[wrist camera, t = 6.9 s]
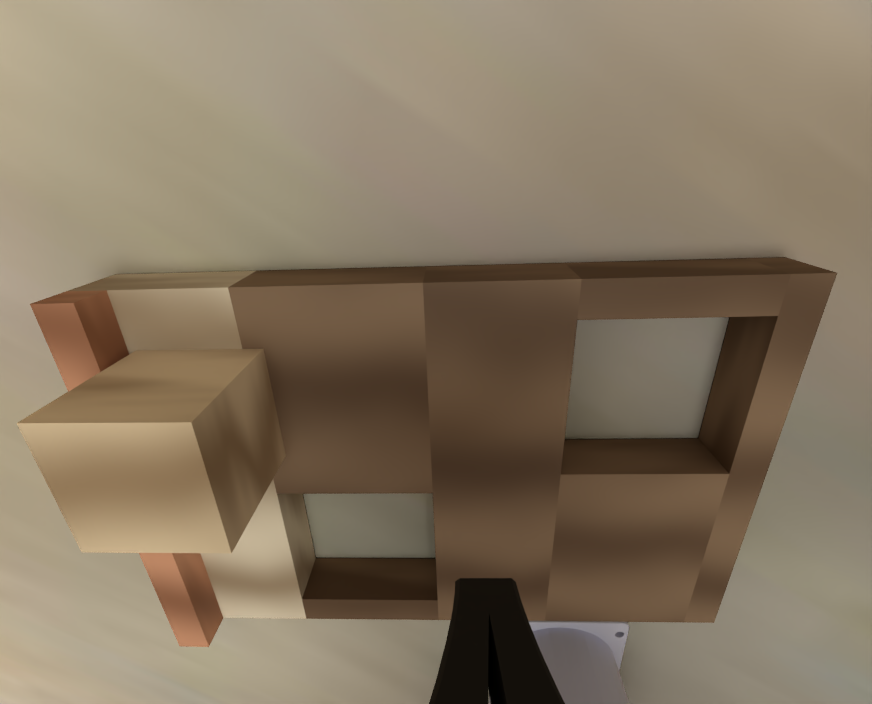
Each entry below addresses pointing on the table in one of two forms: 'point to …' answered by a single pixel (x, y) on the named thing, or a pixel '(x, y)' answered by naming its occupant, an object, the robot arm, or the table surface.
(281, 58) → the table surface
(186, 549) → the beech block
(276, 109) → the table surface
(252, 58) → the table surface
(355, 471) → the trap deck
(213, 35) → the table surface
